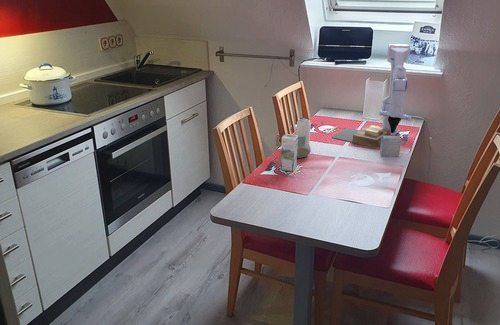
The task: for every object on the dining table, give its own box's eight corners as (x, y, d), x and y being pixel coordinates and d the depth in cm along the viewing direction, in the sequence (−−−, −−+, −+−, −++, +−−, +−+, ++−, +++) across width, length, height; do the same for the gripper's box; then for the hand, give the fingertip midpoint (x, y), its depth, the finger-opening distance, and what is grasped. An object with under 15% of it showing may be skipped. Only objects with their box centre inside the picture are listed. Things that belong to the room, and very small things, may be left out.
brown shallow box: (366, 132, 234) (367, 125, 233) (389, 137, 228) (390, 129, 226) (352, 142, 221) (353, 134, 219) (376, 148, 214) (377, 140, 213)
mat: (346, 128, 240) (346, 127, 240) (365, 132, 234) (365, 131, 234) (331, 137, 226) (331, 137, 226) (351, 142, 221) (351, 141, 221)
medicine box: (397, 153, 208) (399, 135, 205) (399, 157, 204) (401, 139, 201) (379, 153, 209) (381, 135, 205) (380, 156, 205) (383, 138, 201)
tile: (371, 129, 227) (372, 125, 226) (383, 131, 224) (383, 127, 223) (364, 133, 220) (365, 130, 220) (376, 136, 217) (377, 132, 216)
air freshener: (288, 160, 200) (289, 138, 196) (283, 153, 208) (284, 132, 204) (312, 158, 202) (314, 137, 198) (306, 151, 210) (307, 130, 206)
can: (311, 142, 221) (312, 118, 216) (306, 146, 215) (308, 122, 211) (298, 139, 223) (299, 116, 219) (294, 144, 218) (295, 120, 213)
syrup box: (296, 166, 193) (298, 134, 188) (293, 172, 188) (295, 139, 182) (283, 165, 195) (285, 133, 189) (280, 170, 190) (281, 137, 184)
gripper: (378, 103, 212) (375, 131, 217) (409, 109, 204) (405, 137, 210) (383, 100, 217) (380, 127, 223) (414, 105, 210) (410, 133, 215)
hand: (392, 132), depth 217 cm, fingers closed
